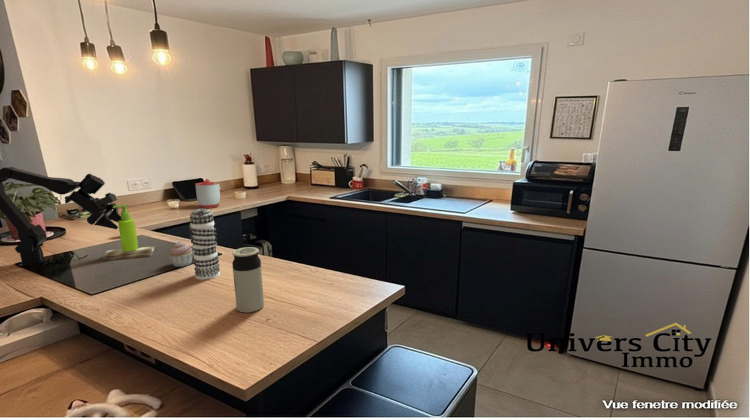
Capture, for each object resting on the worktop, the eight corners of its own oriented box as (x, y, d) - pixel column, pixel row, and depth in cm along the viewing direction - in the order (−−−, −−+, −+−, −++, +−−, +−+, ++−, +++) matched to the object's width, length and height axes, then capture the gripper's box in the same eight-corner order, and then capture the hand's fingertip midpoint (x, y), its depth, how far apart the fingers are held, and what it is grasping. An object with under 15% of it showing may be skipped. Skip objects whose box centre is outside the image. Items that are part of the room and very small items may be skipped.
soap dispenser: (119, 249, 164) (111, 204, 160) (137, 246, 169) (130, 202, 164) (120, 253, 160) (113, 207, 156) (139, 249, 164) (132, 204, 160)
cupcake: (200, 261, 156) (198, 238, 154) (183, 269, 147) (180, 245, 145) (182, 259, 158) (179, 236, 156) (164, 267, 149) (161, 243, 147)
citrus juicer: (228, 205, 272) (225, 178, 267) (206, 210, 257) (203, 180, 253) (214, 203, 280) (212, 176, 276) (192, 207, 265) (189, 179, 261)
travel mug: (266, 301, 119) (262, 246, 115) (260, 313, 111) (255, 255, 107) (241, 301, 119) (236, 247, 115) (233, 313, 111) (227, 255, 107)
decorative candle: (195, 272, 143) (187, 208, 138) (221, 269, 147) (215, 206, 141) (193, 281, 135) (185, 213, 130) (221, 277, 138) (214, 211, 133)
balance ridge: (102, 260, 158) (101, 255, 157) (111, 253, 167) (110, 248, 167) (150, 256, 163) (149, 251, 162) (156, 249, 172) (155, 244, 172)
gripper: (91, 191, 148) (127, 216, 153) (109, 184, 166) (141, 207, 171) (71, 212, 147) (108, 236, 153) (91, 203, 165) (123, 226, 170)
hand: (121, 225), depth 162 cm, fingers open, 9 cm apart
